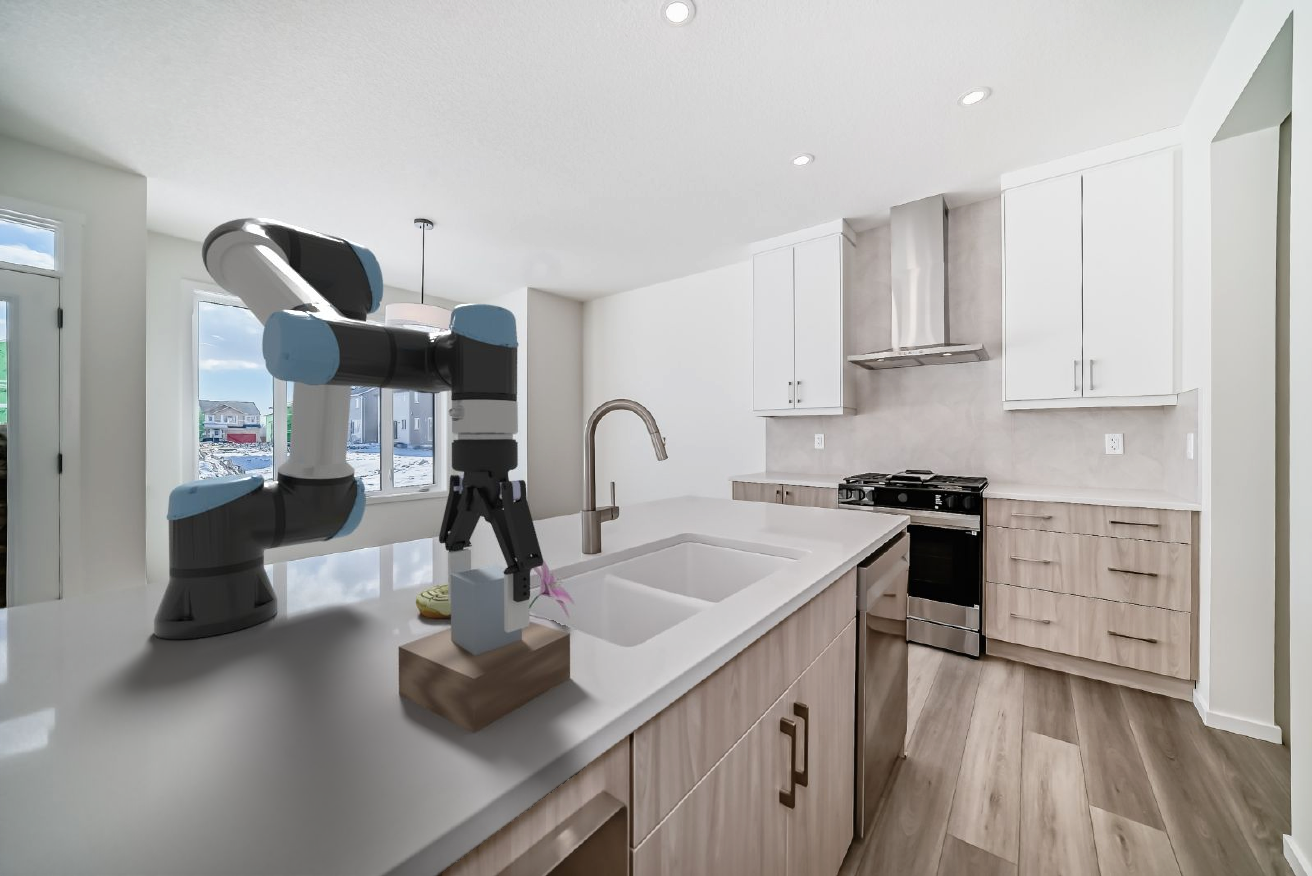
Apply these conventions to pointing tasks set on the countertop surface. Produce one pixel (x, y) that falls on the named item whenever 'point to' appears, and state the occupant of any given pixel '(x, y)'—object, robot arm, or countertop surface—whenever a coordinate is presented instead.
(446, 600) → the decorated donut
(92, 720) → the countertop surface
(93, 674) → the countertop surface
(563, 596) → the lily
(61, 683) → the countertop surface
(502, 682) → the walnut block
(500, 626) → the slate block
